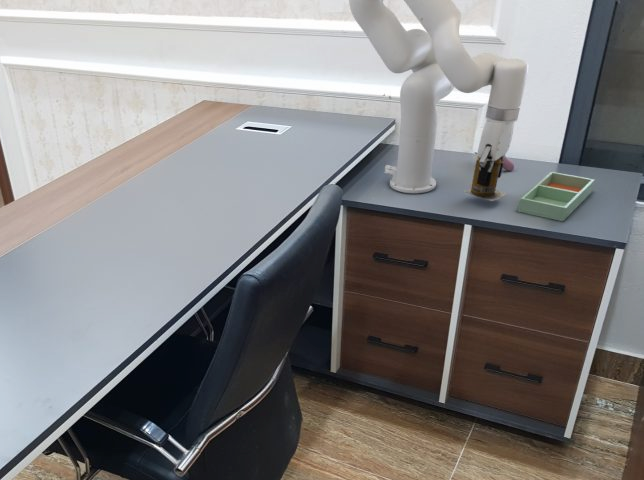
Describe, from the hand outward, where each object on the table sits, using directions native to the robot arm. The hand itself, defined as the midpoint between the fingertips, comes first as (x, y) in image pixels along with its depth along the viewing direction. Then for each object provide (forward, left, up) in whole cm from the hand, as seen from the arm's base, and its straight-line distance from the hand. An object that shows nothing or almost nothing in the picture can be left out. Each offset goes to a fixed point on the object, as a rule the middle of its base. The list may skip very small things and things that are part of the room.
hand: (488, 180), depth 188 cm
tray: (+15, +9, -6) cm, 18 cm away
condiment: (0, 0, -4) cm, 4 cm away
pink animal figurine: (-7, +26, -6) cm, 28 cm away
